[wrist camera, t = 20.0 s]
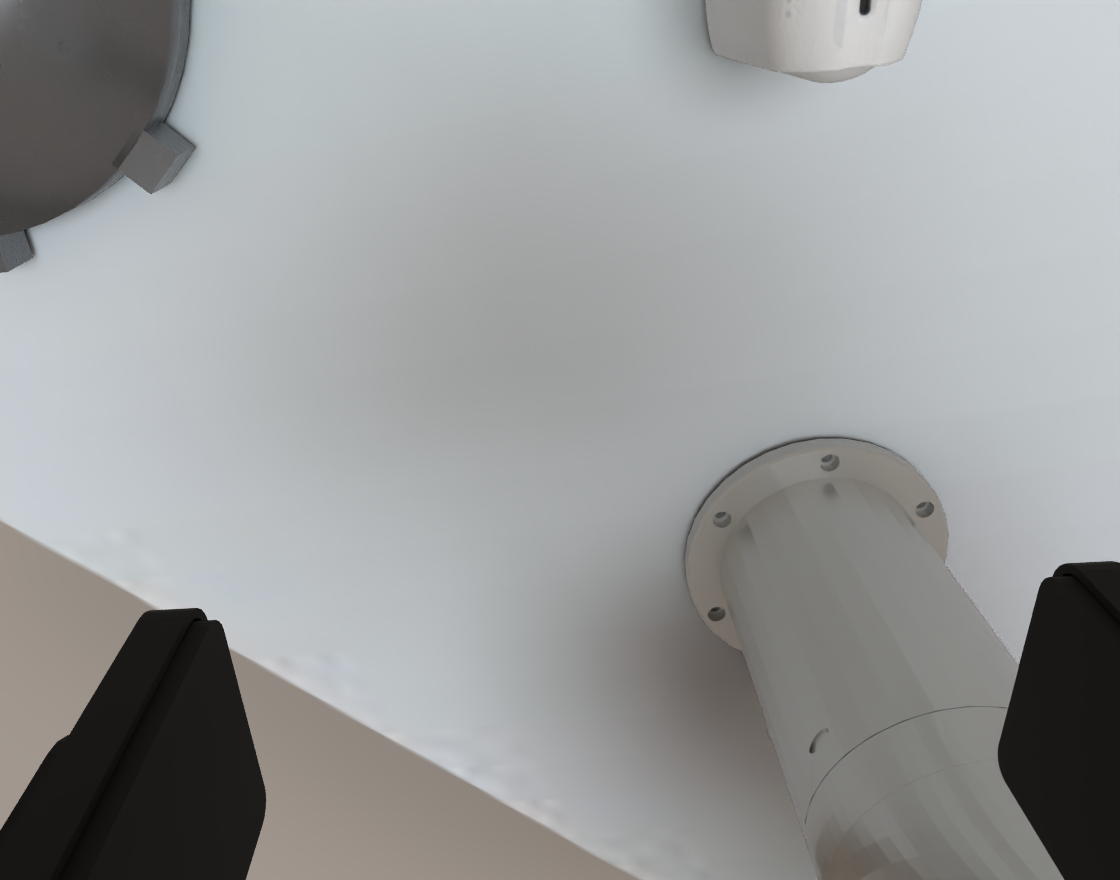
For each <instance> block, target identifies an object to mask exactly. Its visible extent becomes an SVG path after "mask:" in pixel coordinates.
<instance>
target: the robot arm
mask: <svg viewBox="0 0 1120 880" xmlns="http://www.w3.org/2000/svg"><path fill="white" fill-rule="evenodd" d="M826 455H827V456H826ZM825 456H826V457H825ZM719 512H721V513H719ZM947 547H948V528H947V522H946V515H945V513H944V510H943V508H942V505H941V503H940V501H939V498H938V496H937V495H936V493H935V492H934V490H933V489H932V488H931V486H930V485H929V484H928V482H927V481H926V480H925V478H924V477H923V476H922V475H921V474H920V473H919V472H918V471H917V470H916V469H915V468H914V467H913V466H912V465H911V464H910V463H909V462H907V461H906V460H904V459H903V458H901V457H899V456H898V455H896V454H895V453H893V452H892V451H889V450H887V449H884V448H882V447H879V446H876V445H874V444H871V443H868V442H862V441H856V440H850V439H815V440H809V441H803V442H797V443H792V444H789V445H787V446H784V447H781V448H778V449H775V450H772V451H769V452H767V453H765V454H763V455H761V456H759V457H758V458H756V459H754V460H752V461H750V462H748V463H746V464H745V465H743V466H742V467H741V468H739V469H738V470H737V471H736V472H734V473H733V474H732V475H730V476H729V477H728V478H726V479H725V480H724V481H723V482H722V483H721V484H720V485H719V487H718V488H717V489H716V490H715V491H714V492H713V493H712V494H711V495H710V496H709V497H708V499H707V500H706V502H705V503H704V505H703V507H702V508H701V510H700V511H699V513H698V515H697V516H696V518H695V520H694V523H693V525H692V528H691V531H690V533H689V536H688V539H687V545H686V552H685V559H684V560H685V573H686V581H687V584H688V588H689V592H690V596H691V599H692V601H693V603H694V605H695V608H696V610H697V612H698V614H699V616H700V617H701V619H702V620H703V621H704V622H705V624H706V625H707V626H708V628H709V629H710V630H711V631H712V632H713V633H714V634H715V635H717V636H718V637H719V638H720V639H721V640H723V641H724V642H725V643H726V644H728V645H730V646H732V647H733V648H735V649H737V650H739V651H741V652H743V654H744V657H745V660H746V663H747V666H748V669H749V672H750V675H751V678H752V681H753V684H754V687H755V690H756V693H757V696H758V699H759V702H760V705H761V708H762V711H763V714H764V717H765V720H766V723H767V733H768V736H769V738H770V739H771V740H772V741H773V744H774V747H775V750H776V753H777V756H778V759H779V762H780V765H781V768H782V771H783V775H784V778H785V781H786V784H787V787H788V790H789V793H790V796H791V799H792V802H793V805H794V808H795V811H796V814H797V817H798V820H799V823H800V826H801V829H802V832H803V835H804V838H805V841H806V844H807V847H808V850H809V853H810V856H811V859H812V862H813V865H814V868H815V871H816V874H817V877H818V879H819V880H1120V563H1118V562H1114V561H1106V562H1086V563H1067V564H1063V565H1060V566H1059V567H1058V568H1057V569H1056V570H1055V572H1054V574H1053V577H1049V578H1045V579H1044V580H1043V581H1042V583H1041V585H1040V588H1039V591H1038V595H1037V599H1036V602H1035V606H1034V610H1033V614H1032V618H1031V622H1030V625H1029V629H1028V633H1027V637H1026V641H1025V645H1024V649H1023V652H1022V656H1021V660H1020V664H1019V665H1018V663H1017V662H1016V661H1015V659H1014V658H1013V656H1012V655H1011V654H1010V652H1009V651H1008V650H1007V648H1006V647H1005V646H1004V644H1003V643H1002V641H1001V640H1000V639H999V637H998V636H997V635H996V633H995V632H994V630H993V629H992V628H991V626H990V625H989V624H988V622H987V621H986V620H985V618H984V617H983V615H982V614H981V613H980V611H979V610H978V609H977V607H976V606H975V604H974V603H973V602H972V600H971V599H970V598H969V596H968V595H967V594H966V592H965V591H964V589H963V588H962V587H961V585H960V584H959V583H958V581H957V580H956V578H955V577H954V576H953V574H952V573H951V572H950V570H949V569H948V568H947V566H946V565H945V560H946V556H947ZM265 809H266V792H265V786H264V782H263V778H262V775H261V771H260V767H259V763H258V759H257V755H256V751H255V748H254V744H253V740H252V736H251V733H250V728H249V725H248V721H247V717H246V713H245V709H244V705H243V702H242V698H241V694H240V690H239V686H238V682H237V679H236V675H235V671H234V667H233V663H232V659H231V656H230V652H229V648H228V644H227V640H226V636H225V632H224V629H223V627H222V624H221V623H220V622H219V621H217V620H207V617H206V615H205V613H204V612H203V611H202V610H201V609H198V608H189V609H169V610H151V611H147V612H145V613H144V614H143V615H142V616H141V617H140V619H139V620H138V622H137V623H136V625H135V627H134V628H133V630H132V632H131V633H130V635H129V636H128V638H127V640H126V641H125V643H124V645H123V646H122V648H121V650H120V651H119V653H118V655H117V656H116V658H115V660H114V662H113V663H112V665H111V666H110V668H109V670H108V671H107V673H106V675H105V676H104V678H103V680H102V681H101V683H100V685H99V686H98V688H97V690H96V691H95V693H94V695H93V696H92V698H91V700H90V701H89V703H88V705H87V706H86V708H85V710H84V711H83V713H82V715H81V716H80V718H79V720H78V721H77V723H76V725H75V726H74V728H73V730H72V731H71V733H70V735H67V736H66V737H64V738H62V739H61V740H59V741H58V742H57V743H56V744H55V745H54V746H53V748H52V749H51V750H50V752H49V753H48V754H47V756H46V757H45V759H44V760H43V762H42V764H41V765H40V767H39V769H38V770H37V772H36V773H35V775H34V777H33V779H32V780H31V782H30V783H29V785H28V787H27V788H26V790H25V792H24V793H23V795H22V796H21V798H20V799H19V801H18V803H17V805H16V806H15V808H14V809H13V811H12V812H11V814H10V816H9V817H8V819H7V821H6V822H5V824H4V825H3V827H2V829H1V830H0V880H246V877H247V873H248V870H249V867H250V864H251V861H252V857H253V854H254V851H255V848H256V844H257V841H258V837H259V835H260V831H261V828H262V825H263V821H264V816H265Z"/></svg>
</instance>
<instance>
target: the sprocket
mask: <svg viewBox="0 0 1120 880" xmlns="http://www.w3.org/2000/svg"><path fill="white" fill-rule="evenodd" d="M189 13H190V0H0V273H1V272H8V271H10V270H12V269H14V268H15V267H17V266H19V265H21V264H23V263H24V262H26V261H28V260H30V259H32V258H33V256H32V253H31V250H30V247H29V244H28V241H27V238H26V235H25V232H24V230H25V229H28V228H31V227H34V226H37V225H40V224H43V223H45V222H47V221H49V220H51V219H53V218H55V217H57V216H59V215H61V214H63V213H65V212H67V211H69V210H71V209H73V208H75V207H77V206H79V205H81V204H83V203H85V202H87V201H89V200H91V199H93V198H95V197H96V196H98V195H99V194H100V193H102V192H103V191H104V190H106V189H107V188H109V187H110V186H111V185H113V184H114V183H115V182H117V181H118V180H119V179H120V178H121V177H122V176H123V175H124V174H125V175H126V176H127V177H129V178H130V179H131V180H133V181H134V182H135V183H137V184H138V185H139V186H141V187H142V188H143V189H144V190H146V191H147V192H148V193H150V194H153V193H154V192H156V191H158V190H160V189H161V188H163V187H165V186H167V185H168V184H170V183H171V182H172V180H173V179H174V177H175V176H176V174H177V173H178V171H179V170H180V169H181V167H182V166H183V164H184V163H185V161H186V160H187V158H188V157H189V156H190V154H191V153H192V151H193V150H194V148H195V147H194V146H193V145H192V144H190V143H189V142H188V141H186V140H185V139H184V138H183V137H181V136H180V135H179V134H178V133H176V132H175V131H174V130H172V129H171V128H170V127H169V126H167V125H166V124H165V123H164V120H165V118H166V116H167V114H168V112H169V110H170V108H171V106H172V103H173V100H174V97H175V94H176V91H177V88H178V85H179V82H180V79H181V76H182V72H183V66H184V61H185V55H186V49H187V44H188V36H189Z"/></svg>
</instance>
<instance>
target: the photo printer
mask: <svg viewBox="0 0 1120 880" xmlns="http://www.w3.org/2000/svg"><path fill="white" fill-rule="evenodd" d="M921 2H922V0H705V3H706V16H707V24H708V30H709V35H710V40H711V44H712V48H713V51H714V53H715V54H717V55H720V56H723V57H726V58H730V59H733V60H736V61H739V62H743V63H747V64H751V65H753V66H757V67H761V68H764V69H768V70H771V71H776V72H781V73H785V74H789V75H792V76H796V77H799V78H803V79H806V80H810V81H813V82H819V83H834V82H842V81H846V80H849V79H852V78H855V77H858V76H860V75H862V74H864V73H866V72H867V71H869V70H870V69H872V68H873V67H875V66H884V65H888V64H892V63H895V62H897V61H899V60H901V59H903V57H904V56H905V53H906V50H907V47H908V45H909V42H910V39H911V37H912V33H913V30H914V27H915V23H916V21H917V18H918V15H919V12H920V7H921Z"/></svg>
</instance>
